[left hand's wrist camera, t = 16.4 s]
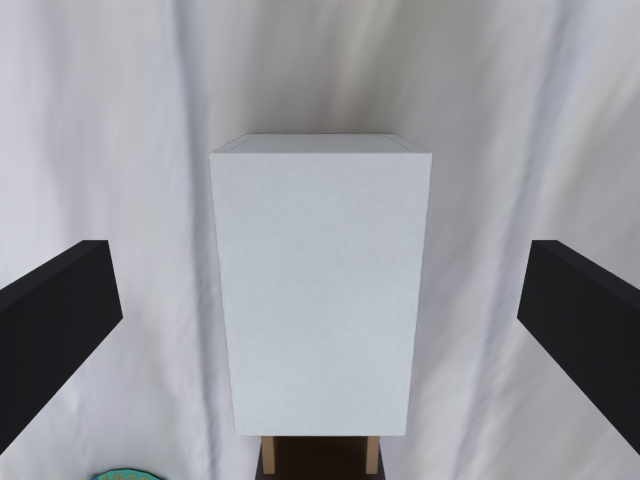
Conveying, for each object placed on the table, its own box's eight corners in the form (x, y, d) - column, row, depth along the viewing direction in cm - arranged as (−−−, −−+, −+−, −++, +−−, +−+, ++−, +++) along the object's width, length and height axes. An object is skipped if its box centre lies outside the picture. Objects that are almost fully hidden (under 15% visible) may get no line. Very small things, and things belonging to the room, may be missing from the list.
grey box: (381, 341, 34) (405, 436, 25) (258, 341, 34) (235, 436, 25) (395, 133, 28) (433, 152, 19) (245, 133, 28) (207, 152, 19)
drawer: (369, 462, 38) (382, 557, 30) (270, 462, 38) (258, 557, 30) (382, 248, 30) (403, 301, 23) (258, 248, 30) (236, 301, 23)
